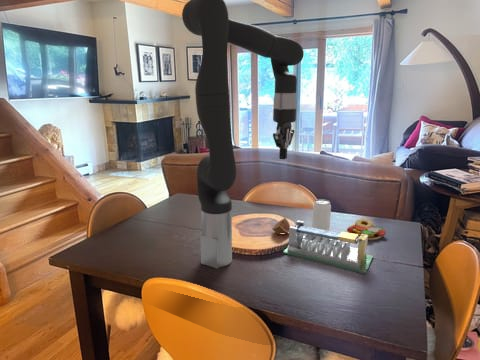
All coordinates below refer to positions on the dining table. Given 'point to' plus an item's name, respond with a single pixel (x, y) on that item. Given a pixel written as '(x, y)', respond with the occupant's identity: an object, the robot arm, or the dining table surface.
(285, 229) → the fruit slice
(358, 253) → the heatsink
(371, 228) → the toy food set
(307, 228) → the grey and tan bar
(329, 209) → the can
